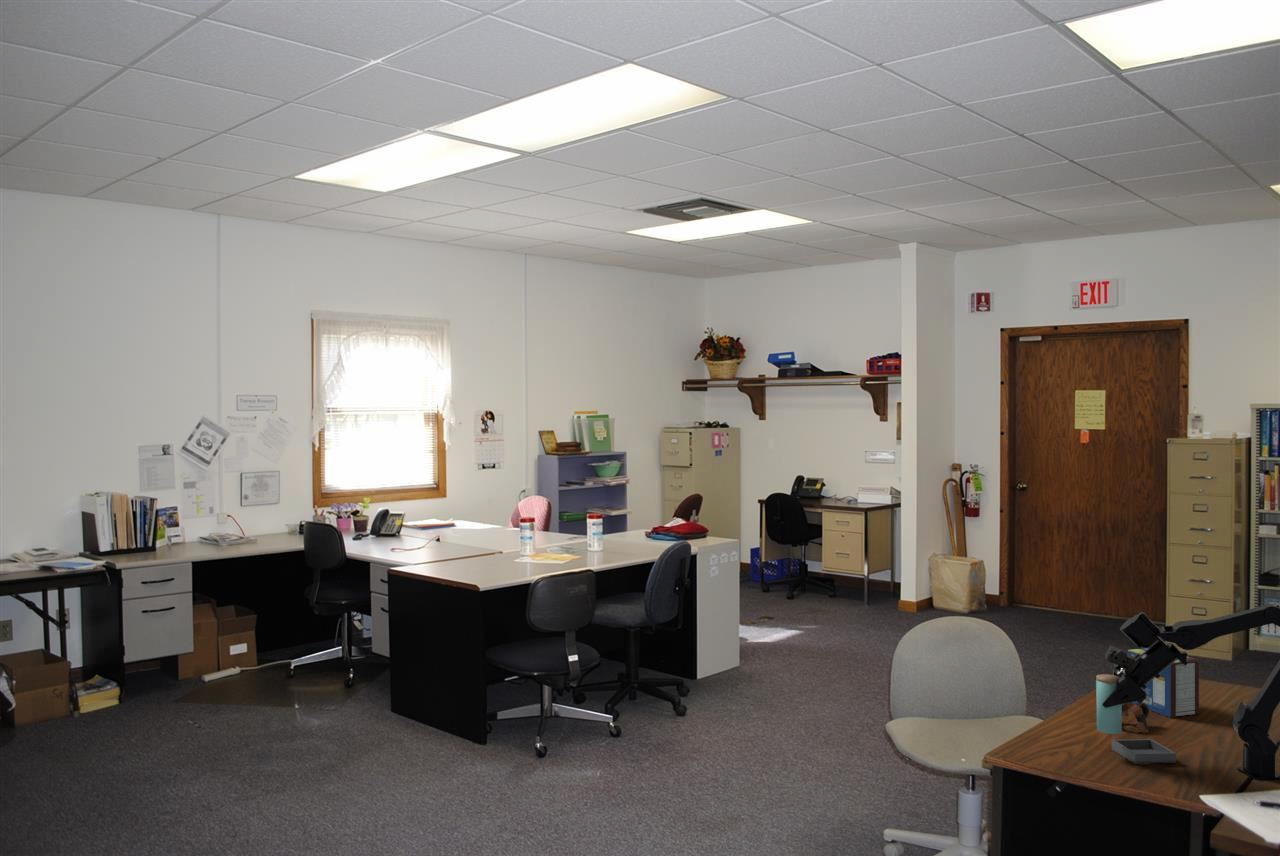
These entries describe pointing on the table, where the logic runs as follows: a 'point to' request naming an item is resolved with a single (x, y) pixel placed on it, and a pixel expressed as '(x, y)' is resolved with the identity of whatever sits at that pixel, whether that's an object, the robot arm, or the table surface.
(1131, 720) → the table surface
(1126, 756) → the tray
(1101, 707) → the canister
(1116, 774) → the table surface
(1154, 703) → the protein box
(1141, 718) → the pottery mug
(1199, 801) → the table surface
